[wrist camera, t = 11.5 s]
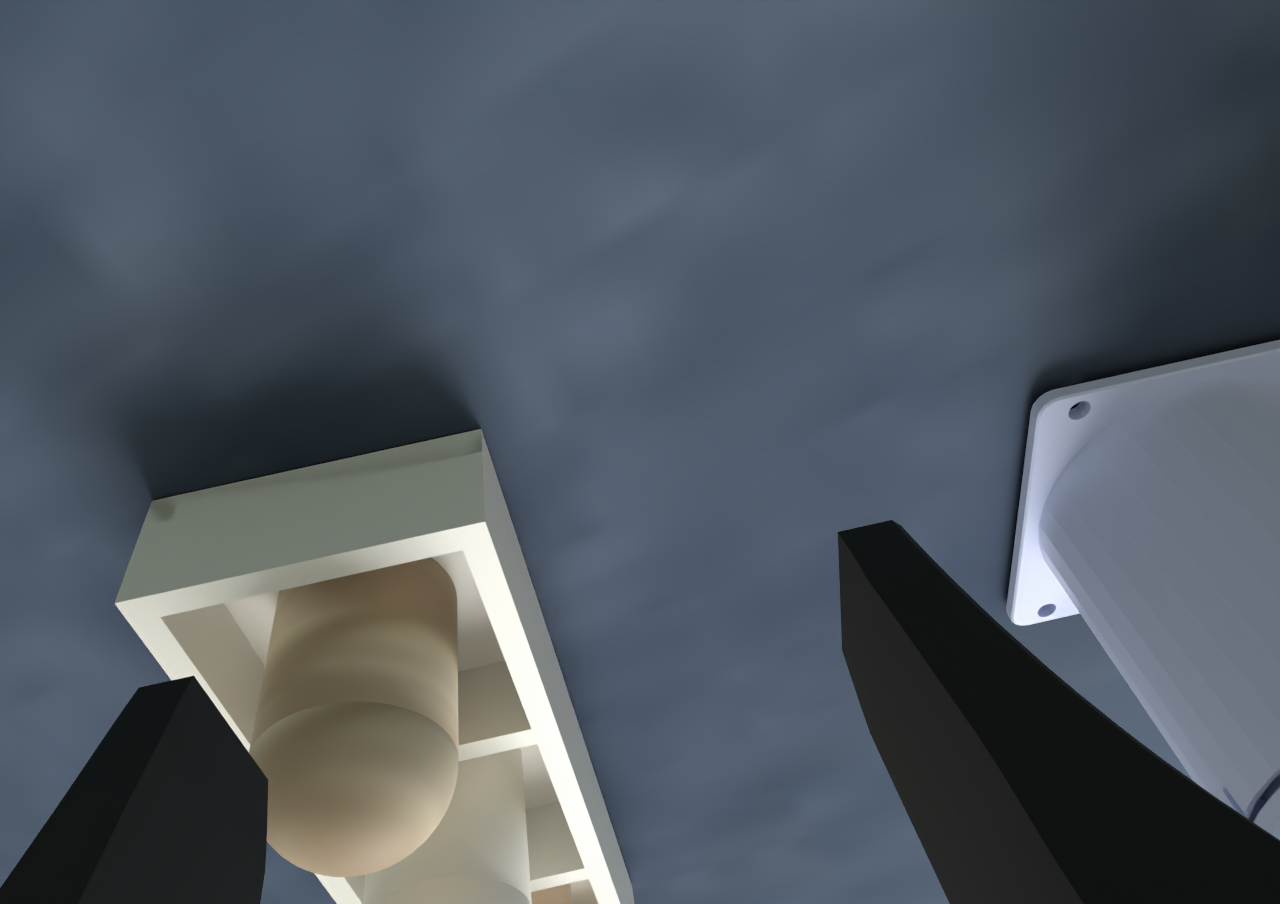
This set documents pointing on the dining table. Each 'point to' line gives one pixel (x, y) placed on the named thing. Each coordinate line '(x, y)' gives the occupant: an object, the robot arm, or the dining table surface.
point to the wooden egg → (360, 717)
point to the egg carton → (487, 655)
